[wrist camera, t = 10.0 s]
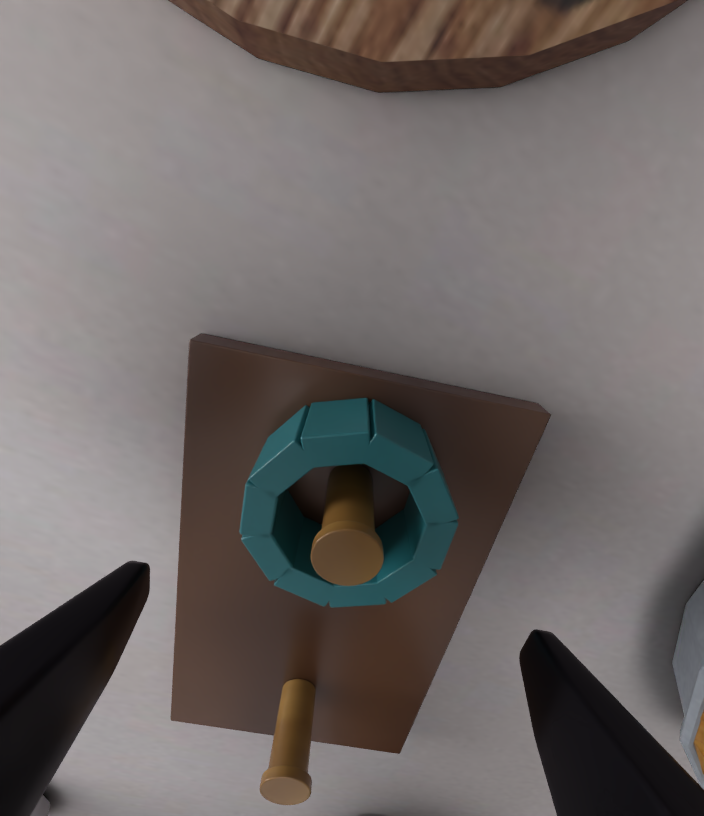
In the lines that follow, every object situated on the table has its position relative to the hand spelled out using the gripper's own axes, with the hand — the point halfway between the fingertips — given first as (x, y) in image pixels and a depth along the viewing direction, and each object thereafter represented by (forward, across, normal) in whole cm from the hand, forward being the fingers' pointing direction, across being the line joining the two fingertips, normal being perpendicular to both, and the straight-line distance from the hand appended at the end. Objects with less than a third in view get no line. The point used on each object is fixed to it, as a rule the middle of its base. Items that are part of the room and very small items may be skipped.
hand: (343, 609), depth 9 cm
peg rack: (+6, 0, +6) cm, 9 cm away
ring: (+6, 0, 0) cm, 6 cm away
